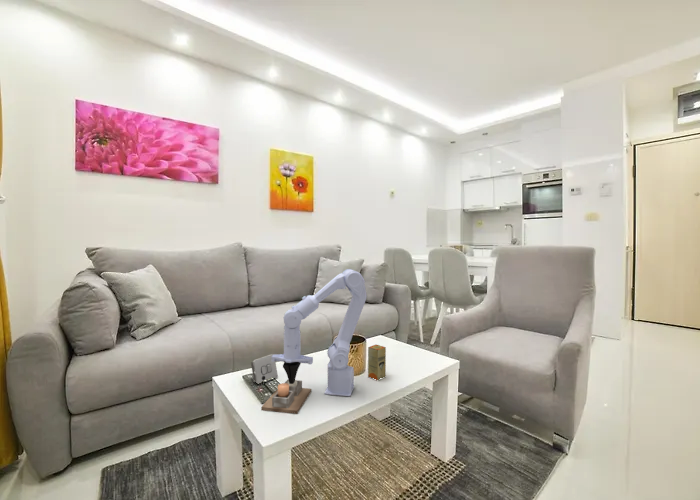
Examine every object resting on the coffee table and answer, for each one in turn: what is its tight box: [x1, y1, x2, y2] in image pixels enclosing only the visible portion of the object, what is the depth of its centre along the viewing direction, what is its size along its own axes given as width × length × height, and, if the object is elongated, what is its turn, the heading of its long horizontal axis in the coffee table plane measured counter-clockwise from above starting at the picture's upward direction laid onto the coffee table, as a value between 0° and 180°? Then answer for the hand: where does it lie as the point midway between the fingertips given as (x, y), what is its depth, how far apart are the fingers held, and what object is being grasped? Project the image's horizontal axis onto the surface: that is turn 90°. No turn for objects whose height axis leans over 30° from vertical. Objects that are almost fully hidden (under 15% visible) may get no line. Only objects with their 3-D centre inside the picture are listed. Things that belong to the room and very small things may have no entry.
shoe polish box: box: [367, 344, 387, 381], centre depth 124 cm, size 5×5×12 cm
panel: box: [260, 379, 312, 415], centre depth 105 cm, size 12×15×4 cm
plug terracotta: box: [277, 382, 289, 397], centre depth 101 cm, size 4×4×3 cm
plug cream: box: [287, 381, 297, 387], centre depth 109 cm, size 4×4×3 cm
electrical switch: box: [250, 353, 279, 384], centre depth 121 cm, size 9×5×9 cm, turn 141°
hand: (292, 382), depth 109 cm, fingers closed, pressing on plug cream
